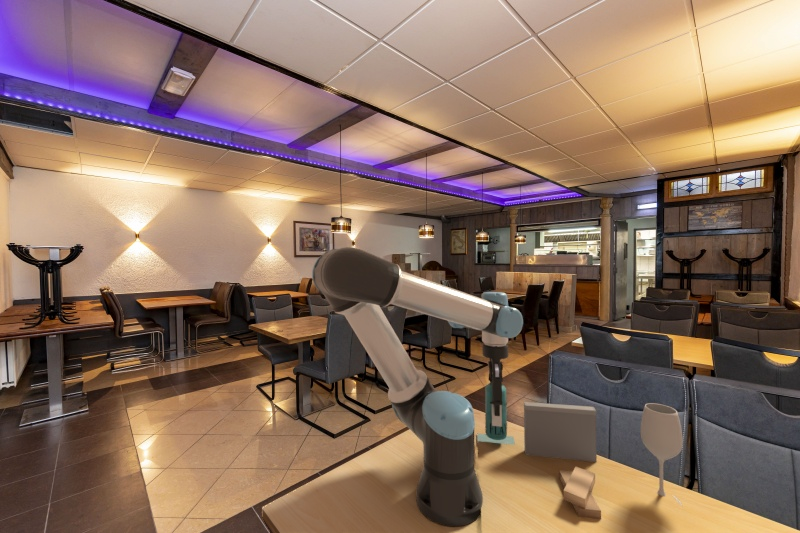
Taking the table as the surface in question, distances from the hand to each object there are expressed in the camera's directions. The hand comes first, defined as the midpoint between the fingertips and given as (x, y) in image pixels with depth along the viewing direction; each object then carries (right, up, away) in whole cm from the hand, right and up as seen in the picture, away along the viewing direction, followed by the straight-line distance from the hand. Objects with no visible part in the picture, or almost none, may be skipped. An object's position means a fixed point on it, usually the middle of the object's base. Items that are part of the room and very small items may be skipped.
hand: (495, 419), depth 99 cm
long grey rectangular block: (+15, -8, -8) cm, 19 cm away
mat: (0, -8, 0) cm, 8 cm away
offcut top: (+12, -5, -24) cm, 27 cm away
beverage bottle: (0, -6, 0) cm, 6 cm away
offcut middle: (+12, -7, -23) cm, 27 cm away
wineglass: (+32, -8, -23) cm, 40 cm away
